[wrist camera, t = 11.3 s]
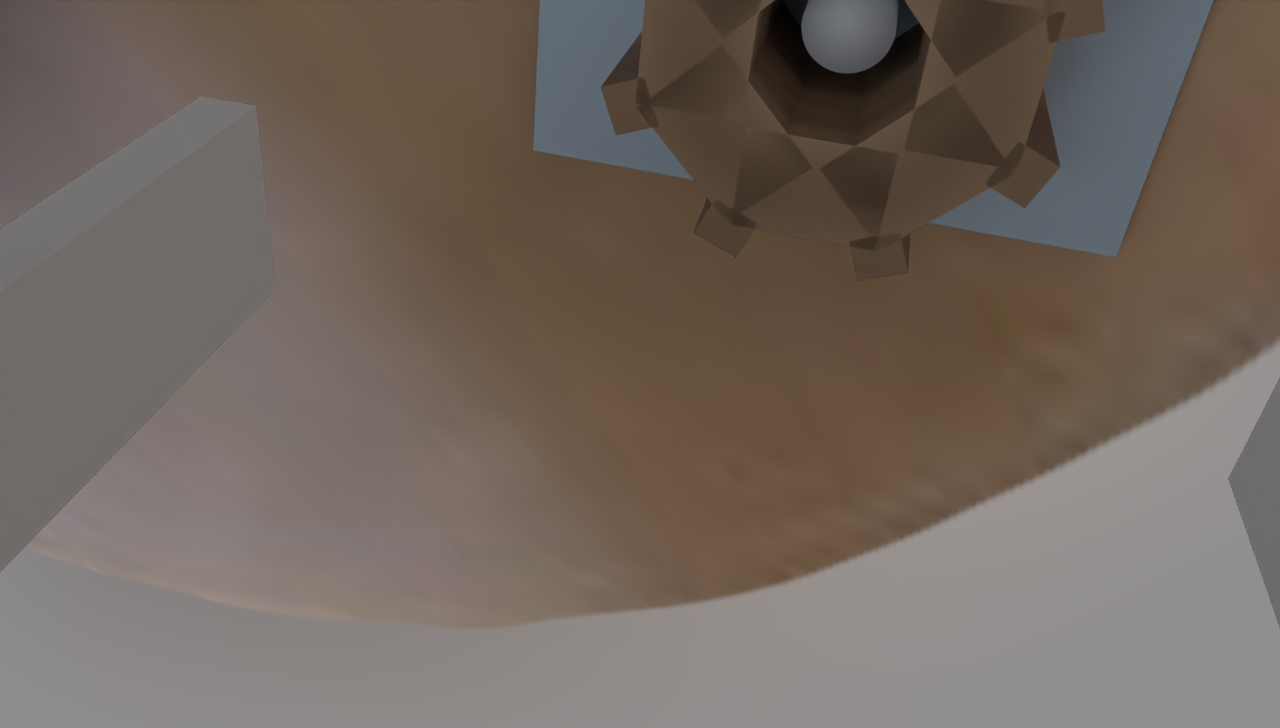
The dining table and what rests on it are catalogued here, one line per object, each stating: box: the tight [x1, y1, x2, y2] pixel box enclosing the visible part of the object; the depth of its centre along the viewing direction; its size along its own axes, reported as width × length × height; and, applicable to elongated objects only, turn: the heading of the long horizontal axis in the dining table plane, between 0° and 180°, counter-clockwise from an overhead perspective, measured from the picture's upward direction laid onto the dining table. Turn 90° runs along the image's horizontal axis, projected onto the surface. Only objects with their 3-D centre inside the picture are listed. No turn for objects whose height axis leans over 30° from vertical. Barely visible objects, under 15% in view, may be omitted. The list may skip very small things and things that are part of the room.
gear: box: [601, 0, 1105, 281], centre depth 25 cm, size 10×10×6 cm
